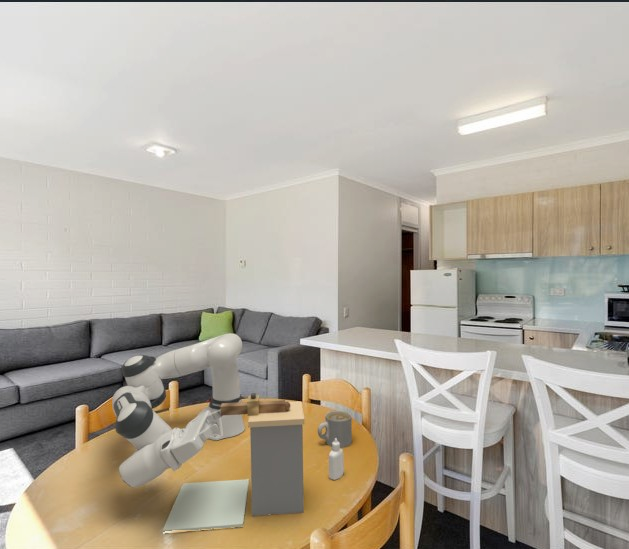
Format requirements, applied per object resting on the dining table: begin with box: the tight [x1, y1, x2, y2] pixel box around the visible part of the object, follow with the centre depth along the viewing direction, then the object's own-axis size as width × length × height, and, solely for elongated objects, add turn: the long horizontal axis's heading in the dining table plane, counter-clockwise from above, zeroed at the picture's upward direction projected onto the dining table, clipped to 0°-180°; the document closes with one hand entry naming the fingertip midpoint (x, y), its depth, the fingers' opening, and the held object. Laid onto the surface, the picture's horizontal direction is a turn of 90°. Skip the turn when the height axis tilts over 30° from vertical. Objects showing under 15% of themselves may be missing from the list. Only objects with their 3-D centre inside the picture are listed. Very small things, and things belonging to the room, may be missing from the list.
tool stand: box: [247, 400, 305, 517], centre depth 105 cm, size 15×13×26 cm
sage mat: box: [162, 478, 250, 533], centre depth 103 cm, size 20×20×1 cm
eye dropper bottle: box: [328, 438, 345, 481], centre depth 117 cm, size 4×6×12 cm
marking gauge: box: [221, 392, 290, 417], centre depth 104 cm, size 20×5×5 cm, turn 96°
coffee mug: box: [317, 410, 353, 449], centre depth 140 cm, size 13×10×10 cm
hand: (220, 418), depth 103 cm, fingers open, 8 cm apart
